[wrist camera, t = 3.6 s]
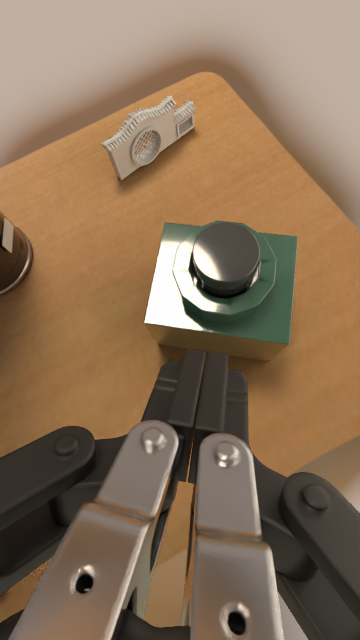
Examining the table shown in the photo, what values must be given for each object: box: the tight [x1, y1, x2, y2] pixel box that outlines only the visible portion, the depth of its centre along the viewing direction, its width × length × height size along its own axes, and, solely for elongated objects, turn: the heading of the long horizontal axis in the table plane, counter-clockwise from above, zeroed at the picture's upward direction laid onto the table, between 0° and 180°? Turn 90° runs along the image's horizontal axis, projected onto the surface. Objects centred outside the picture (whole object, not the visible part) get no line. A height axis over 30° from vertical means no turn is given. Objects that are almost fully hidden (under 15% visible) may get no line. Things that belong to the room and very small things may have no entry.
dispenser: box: [144, 221, 298, 361], centre depth 27 cm, size 11×9×10 cm
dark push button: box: [192, 222, 260, 296], centre depth 22 cm, size 4×4×2 cm
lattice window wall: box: [102, 96, 196, 180], centre depth 36 cm, size 12×2×6 cm, turn 130°
